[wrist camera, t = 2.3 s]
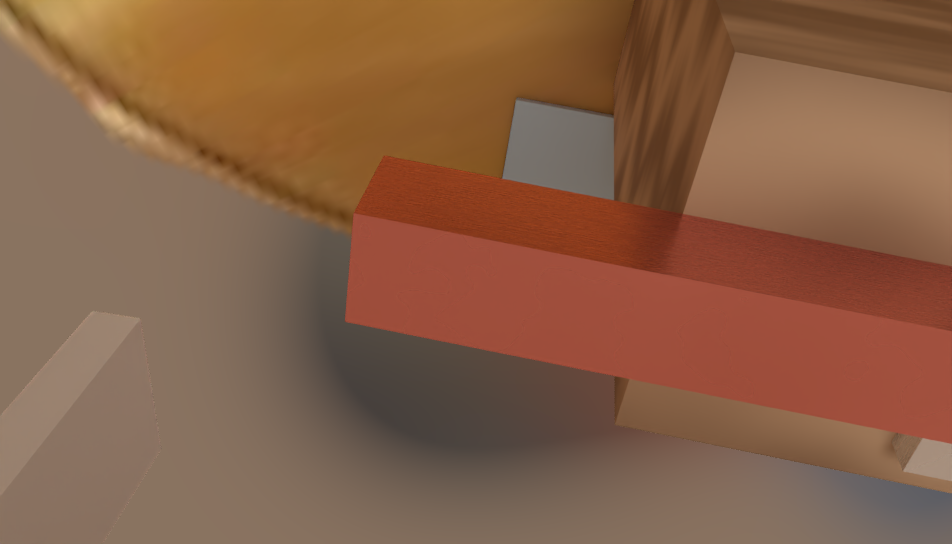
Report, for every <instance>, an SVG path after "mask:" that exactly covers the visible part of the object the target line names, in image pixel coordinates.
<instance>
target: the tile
mask: <svg viewBox="0 0 952 544" xmlns="http://www.w3.org/2000/svg"><path fill="white" fill-rule="evenodd" d="M502 179H507V180H512V181H517V182H522V183H527V184H532V185H538V186H543V187H548V188H553V189H558V190H563V191H568V192H573V193H579V194H584V195H589V196H594V197H599V198H604V199H609V200H614V115H610V114H605V113H599V112H594V111H589V110H583V109H578V108H572V107H567V106H562V105H556V104H551V103H545V102H540V101H535V100H529V99H524V98H518V97H517V98H516V103H515V109H514V115H513V120H512V126H511V132H510V137H509V143H508V149H507V154H506V160H505V166H504V171H503V177H502Z"/></svg>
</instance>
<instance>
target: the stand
mask: <svg viewBox="0 0 952 544" xmlns="http://www.w3.org/2000/svg"><path fill="white" fill-rule="evenodd" d="M614 201H620V202H625V203H630V204H635V205H640V206H645V207H650V208H655V209H661V210H666V211H671V212H676V213H681V214H686V215H691V216H696V217H702V218H707V219H712V220H717V221H722V222H727V223H732V224H738V225H743V226H748V227H753V228H758V229H763V230H768V231H773V232H779V233H784V234H789V235H794V236H799V237H804V238H809V239H814V240H820V241H825V242H830V243H835V244H840V245H845V246H850V247H855V248H861V249H866V250H871V251H876V252H881V253H886V254H891V255H896V256H902V257H907V258H912V259H917V260H922V261H927V262H932V263H937V264H943V265H948V266H952V0H635V1H634V5H633V9H632V13H631V17H630V21H629V25H628V29H627V33H626V37H625V41H624V45H623V49H622V53H621V57H620V61H619V65H618V69H617V73H616V77H615V81H614ZM615 425H618V426H623V427H628V428H633V429H638V430H643V431H648V432H652V433H657V434H663V435H668V436H672V437H677V438H682V439H687V440H692V441H697V442H702V443H707V444H712V445H716V446H721V447H726V448H731V449H736V450H741V451H746V452H751V453H756V454H761V455H766V456H770V457H775V458H780V459H785V460H790V461H795V462H800V463H805V464H810V465H815V466H820V467H825V468H830V469H834V470H839V471H844V472H849V473H854V474H859V475H864V476H869V477H874V478H879V479H884V480H889V481H894V482H898V483H903V484H909V485H913V486H918V487H923V488H928V489H933V490H938V491H943V492H948V493H952V481H948V480H943V479H938V478H933V477H929V476H924V475H919V474H914V473H909V472H904V471H903V470H902V468H901V465H900V463H899V460H898V458H897V455H896V452H895V450H894V447H893V445H892V440H893V438H894V437H895V435H896V433H895V432H890V431H885V430H880V429H875V428H870V427H865V426H860V425H855V424H850V423H845V422H840V421H835V420H830V419H825V418H821V417H816V416H811V415H806V414H801V413H796V412H791V411H786V410H781V409H776V408H771V407H766V406H761V405H756V404H751V403H746V402H741V401H736V400H731V399H726V398H721V397H716V396H711V395H706V394H701V393H696V392H691V391H686V390H682V389H677V388H672V387H667V386H662V385H657V384H652V383H647V382H642V381H637V380H632V379H627V378H622V377H617V376H615Z"/></svg>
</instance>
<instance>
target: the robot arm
mask: <svg viewBox="0 0 952 544" xmlns="http://www.w3.org/2000/svg"><path fill="white" fill-rule="evenodd" d="M160 450H161V444H160V437H159V431H158V424H157V418H156V412H155V405H154V400H153V393H152V386H151V380H150V374H149V367H148V361H147V355H146V349H145V343H144V336H143V330H142V323H141V319H140V318H135V317H129V316H122V315H116V314H109V313H103V312H96V311H92V312H91V313H90V314H89V316H87V318H86V319H85V320H84V321H83V322H82V323H81V324H80V326H79V327H78V328H77V329H76V330H75V331H74V333H73V334H72V335H71V336H70V337H69V338H68V339H67V340H66V342H65V343H64V344H63V345H62V346H61V347H60V348H59V349H58V351H57V352H56V353H55V354H54V355H53V356H52V357H51V359H50V360H49V361H48V362H47V363H46V364H45V365H44V367H43V368H42V369H41V370H40V371H39V372H38V373H37V374H36V376H35V377H34V378H33V379H32V380H31V381H30V382H29V384H28V385H27V386H26V387H25V388H24V389H23V390H22V391H21V393H20V394H19V395H18V396H17V397H16V398H15V399H14V401H13V402H12V403H11V404H10V405H9V406H8V407H7V409H6V410H5V411H4V412H3V413H2V414H1V415H0V544H103V542H104V541H105V539H106V538H107V536H108V534H109V533H110V531H111V529H112V528H113V526H114V525H115V523H116V521H117V520H118V518H119V517H120V515H121V513H122V512H123V510H124V508H125V507H126V505H127V504H128V502H129V500H130V499H131V497H132V496H133V494H134V492H135V491H136V489H137V487H138V486H139V484H140V483H141V481H142V479H143V478H144V476H145V475H146V473H147V471H148V470H149V468H150V467H151V465H152V463H153V462H154V460H155V458H156V457H157V455H158V454H159V452H160Z"/></svg>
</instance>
